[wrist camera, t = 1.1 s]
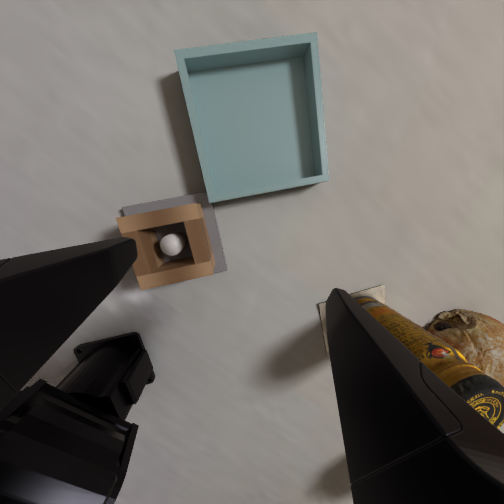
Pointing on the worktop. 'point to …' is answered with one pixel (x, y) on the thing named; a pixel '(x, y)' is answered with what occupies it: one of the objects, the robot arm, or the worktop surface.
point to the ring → (149, 252)
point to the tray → (256, 114)
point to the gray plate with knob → (183, 228)
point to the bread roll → (474, 339)
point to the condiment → (434, 356)
